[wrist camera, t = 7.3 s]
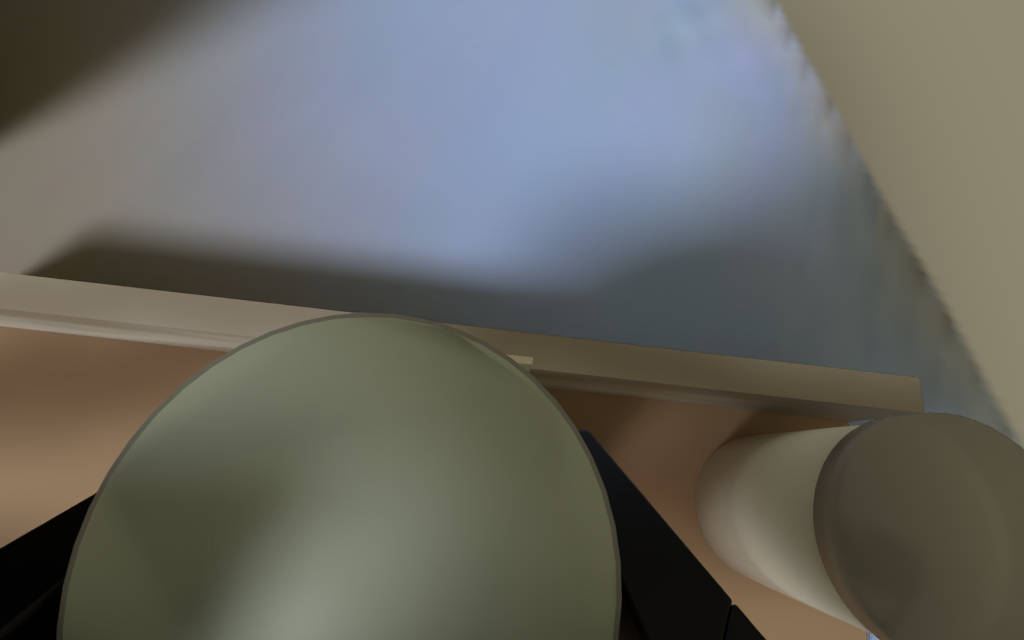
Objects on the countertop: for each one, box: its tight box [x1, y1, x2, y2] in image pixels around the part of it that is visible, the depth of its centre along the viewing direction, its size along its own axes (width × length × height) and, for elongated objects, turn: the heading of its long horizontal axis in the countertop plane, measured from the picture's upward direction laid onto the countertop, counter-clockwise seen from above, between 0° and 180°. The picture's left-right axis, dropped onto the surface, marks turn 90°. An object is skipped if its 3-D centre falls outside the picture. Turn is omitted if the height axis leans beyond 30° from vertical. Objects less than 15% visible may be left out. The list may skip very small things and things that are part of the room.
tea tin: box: [56, 312, 622, 640], centre depth 9 cm, size 5×5×10 cm
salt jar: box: [695, 413, 1024, 640], centre depth 12 cm, size 5×5×7 cm
